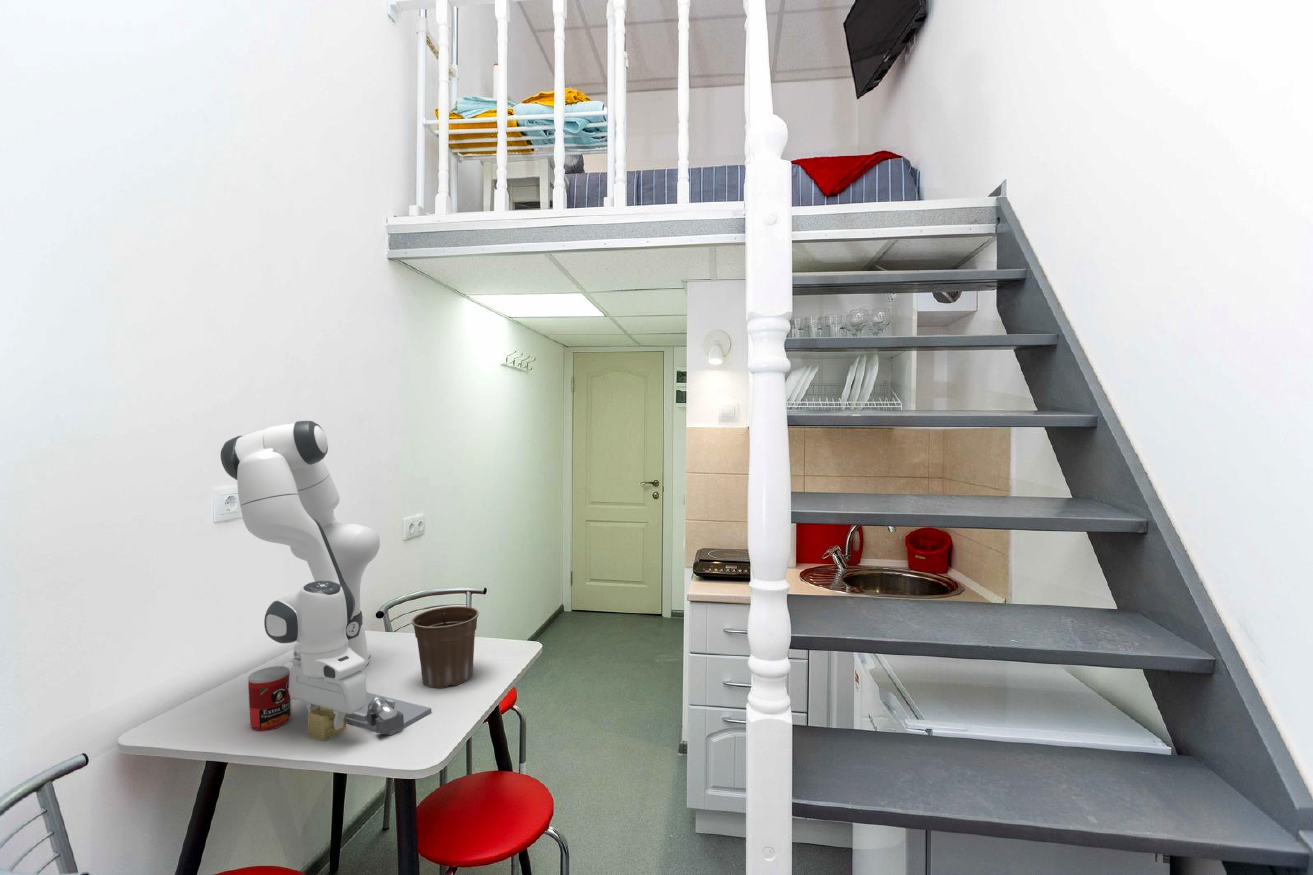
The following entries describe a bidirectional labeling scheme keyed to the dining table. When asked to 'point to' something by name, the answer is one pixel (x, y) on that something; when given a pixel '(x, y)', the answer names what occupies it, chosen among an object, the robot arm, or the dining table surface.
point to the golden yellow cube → (323, 723)
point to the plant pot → (446, 644)
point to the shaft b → (383, 715)
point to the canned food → (269, 698)
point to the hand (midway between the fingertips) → (327, 725)
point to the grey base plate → (407, 709)
